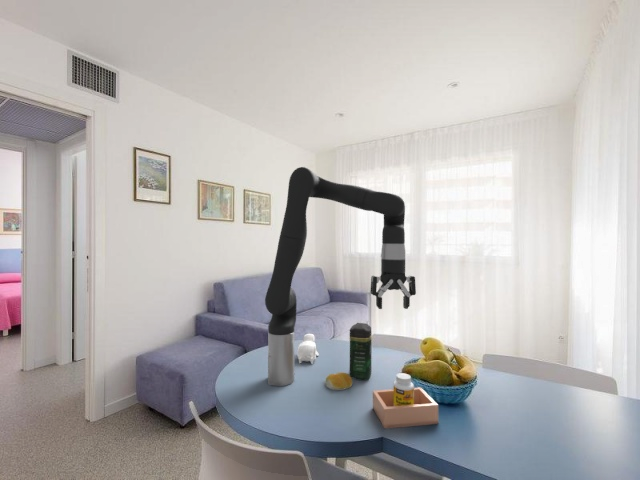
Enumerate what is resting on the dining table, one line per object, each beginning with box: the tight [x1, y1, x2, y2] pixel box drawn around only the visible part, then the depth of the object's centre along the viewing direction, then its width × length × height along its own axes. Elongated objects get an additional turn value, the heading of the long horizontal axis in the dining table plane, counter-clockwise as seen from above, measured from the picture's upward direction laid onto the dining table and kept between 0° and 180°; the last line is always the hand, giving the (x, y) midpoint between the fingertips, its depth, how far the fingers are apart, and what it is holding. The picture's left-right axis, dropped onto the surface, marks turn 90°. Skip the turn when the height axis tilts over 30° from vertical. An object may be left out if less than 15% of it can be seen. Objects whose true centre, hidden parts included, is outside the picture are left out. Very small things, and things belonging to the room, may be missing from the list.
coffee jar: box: [349, 322, 373, 381], centre depth 111 cm, size 10×8×19 cm
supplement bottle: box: [393, 372, 415, 406], centre depth 84 cm, size 6×6×10 cm
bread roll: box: [324, 372, 353, 391], centre depth 103 cm, size 8×9×4 cm
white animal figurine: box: [296, 333, 319, 365], centre depth 128 cm, size 9×8×15 cm
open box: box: [372, 387, 439, 429], centre depth 84 cm, size 15×10×5 cm, turn 98°
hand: (392, 308), depth 96 cm, fingers open, 8 cm apart
